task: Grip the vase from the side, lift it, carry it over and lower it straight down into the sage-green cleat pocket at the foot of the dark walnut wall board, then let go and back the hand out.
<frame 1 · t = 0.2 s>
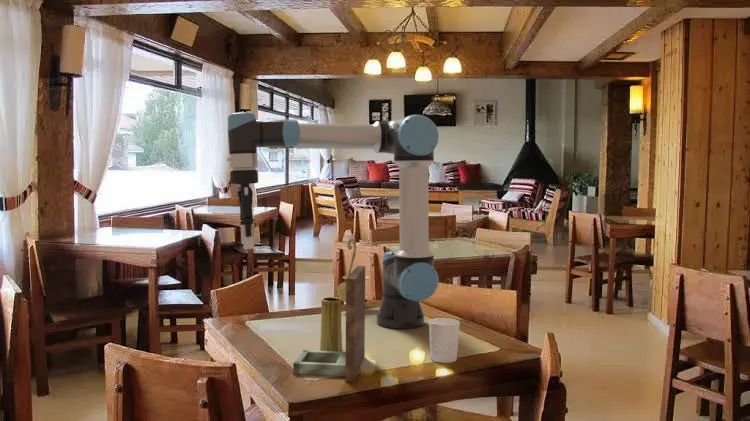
hand: (247, 246, 180), 27 cm above the table, tool pointing down, fingers open, 13 cm apart
vase: (331, 352, 174), on the table
wall sconce: (353, 308, 228), on the table
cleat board: (321, 367, 160), on the table
white cup: (443, 360, 168), on the table
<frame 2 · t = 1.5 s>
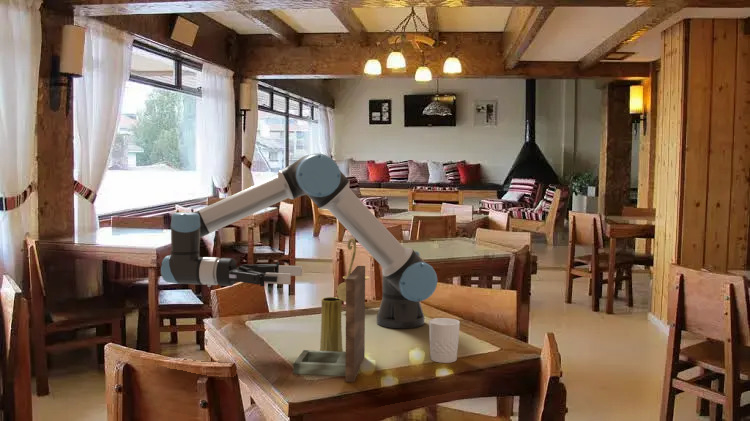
hand: (296, 274, 174), 20 cm above the table, tool horizontal, fingers open, 13 cm apart
nothing on the table moved.
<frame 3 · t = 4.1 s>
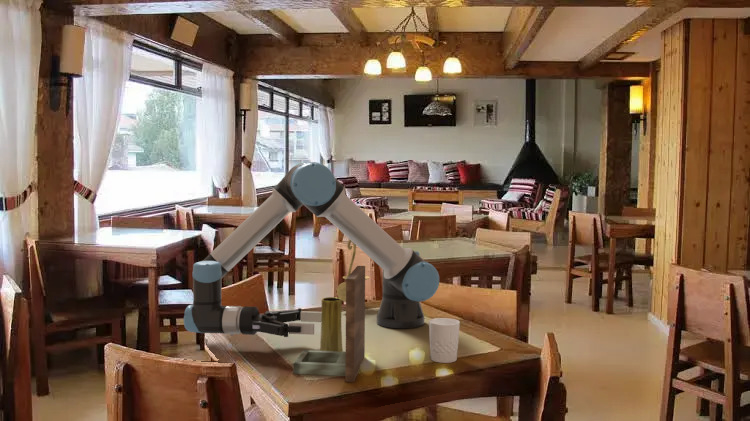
hand: (319, 322, 173), 8 cm above the table, tool horizontal, fingers open, 13 cm apart
nothing on the table moved.
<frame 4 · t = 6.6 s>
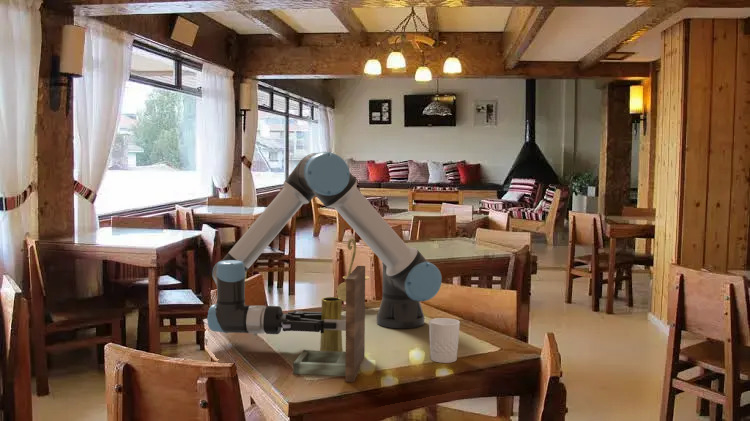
hand: (350, 322, 173), 8 cm above the table, tool horizontal, fingers closed on vase, 5 cm apart
vase: (331, 352, 174), on the table, touching gripper
everything else where it was.
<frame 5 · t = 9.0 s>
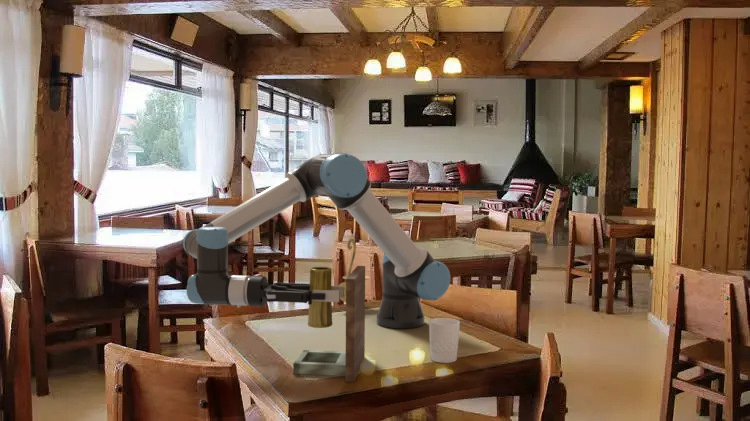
hand: (341, 294, 159), 18 cm above the table, tool horizontal, fingers closed on vase, 5 cm apart
vase: (320, 326, 160), point 10 cm above the table, touching gripper
everything else where it was.
when the fingers open (9 cm above the table, at t = 11.9 s): vase drops 1 cm, resting in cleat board.
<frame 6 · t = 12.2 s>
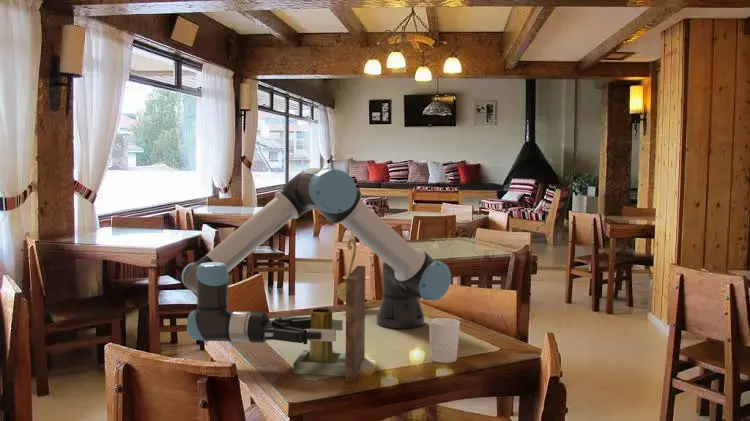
hand: (338, 330, 159), 9 cm above the table, tool horizontal, fingers open, 10 cm apart
vase: (321, 368, 160), resting in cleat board
everything else where it was.
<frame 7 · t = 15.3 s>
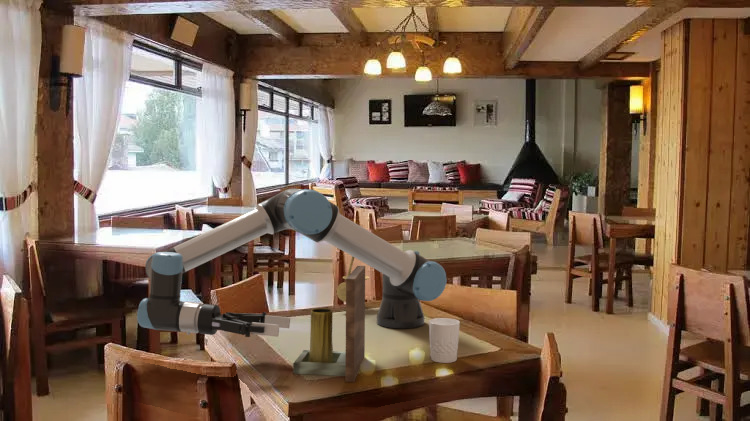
hand: (284, 326, 161), 10 cm above the table, tool horizontal, fingers open, 13 cm apart
nothing on the table moved.
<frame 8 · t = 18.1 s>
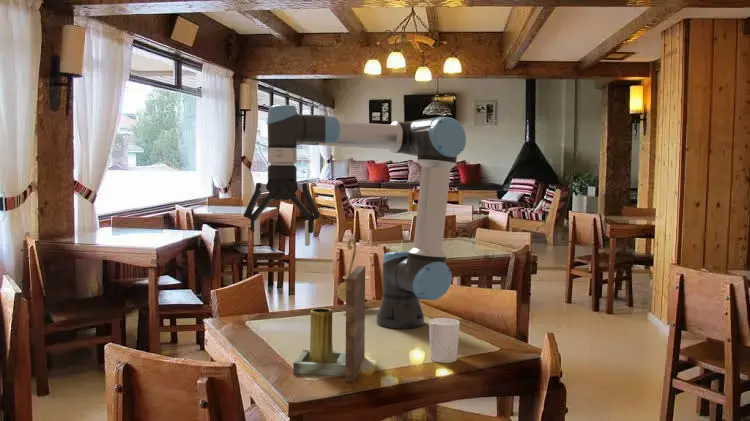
hand: (282, 245, 172), 29 cm above the table, tool pointing down, fingers open, 13 cm apart
nothing on the table moved.
at the end: vase 0.2 cm off-centre on the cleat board, point 0.0 cm above the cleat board's base; vase tilted 0°; the gripper is holding nothing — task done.
